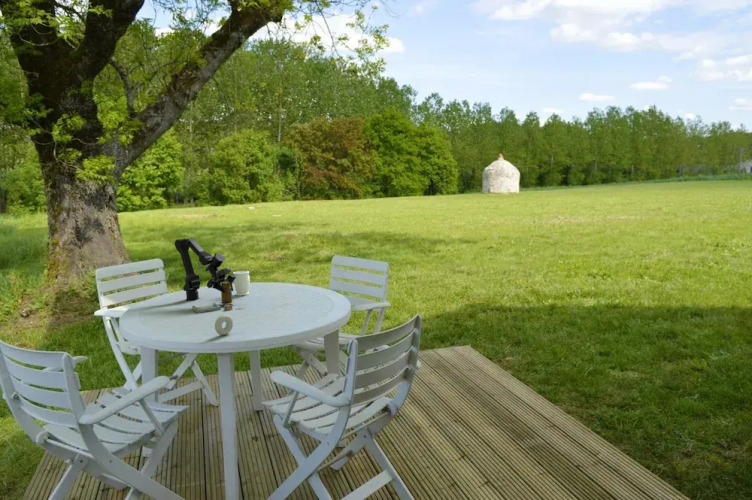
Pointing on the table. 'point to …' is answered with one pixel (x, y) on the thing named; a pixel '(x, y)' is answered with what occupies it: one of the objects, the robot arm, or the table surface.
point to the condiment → (226, 293)
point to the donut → (227, 328)
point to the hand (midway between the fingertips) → (228, 291)
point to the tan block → (227, 307)
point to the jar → (242, 282)
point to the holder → (206, 308)
